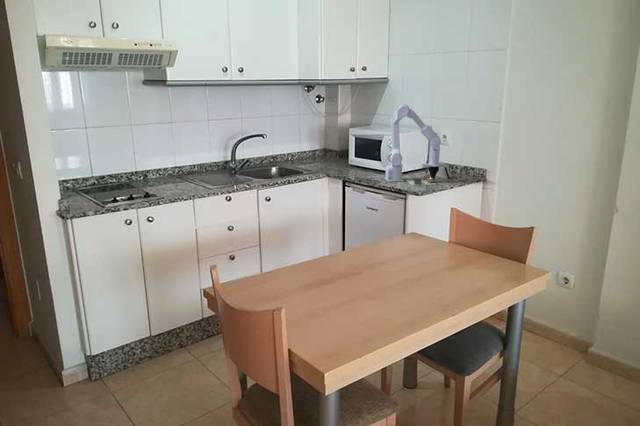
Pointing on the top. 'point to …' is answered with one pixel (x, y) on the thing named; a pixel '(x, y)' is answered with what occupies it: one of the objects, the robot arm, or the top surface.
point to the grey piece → (443, 172)
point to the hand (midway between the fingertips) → (432, 179)
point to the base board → (423, 183)
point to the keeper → (417, 180)
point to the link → (428, 179)
